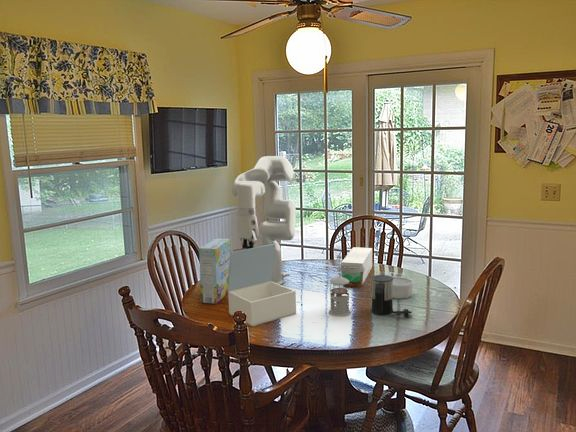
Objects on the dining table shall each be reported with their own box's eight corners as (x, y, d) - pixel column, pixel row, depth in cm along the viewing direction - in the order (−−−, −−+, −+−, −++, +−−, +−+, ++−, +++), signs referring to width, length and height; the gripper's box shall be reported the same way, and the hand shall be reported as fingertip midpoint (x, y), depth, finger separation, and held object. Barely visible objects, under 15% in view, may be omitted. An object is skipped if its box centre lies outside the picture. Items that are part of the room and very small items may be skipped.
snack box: (218, 304, 229) (215, 248, 224) (200, 303, 230) (196, 248, 226) (233, 289, 249) (230, 237, 245) (216, 288, 251) (213, 237, 247)
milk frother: (369, 307, 220) (369, 274, 217) (406, 307, 219) (407, 274, 217) (373, 320, 206) (374, 284, 203) (413, 319, 205) (414, 284, 203)
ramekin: (418, 294, 235) (418, 280, 234) (403, 302, 225) (403, 287, 224) (393, 288, 244) (393, 274, 242) (378, 296, 234) (378, 281, 233)
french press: (335, 318, 209) (334, 259, 204) (322, 309, 219) (321, 252, 215) (355, 314, 212) (355, 256, 208) (342, 305, 223) (341, 250, 218)
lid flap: (271, 280, 228) (264, 275, 231) (275, 244, 221) (268, 239, 225) (228, 291, 215) (222, 285, 218) (231, 252, 208) (224, 247, 212)
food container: (337, 287, 248) (336, 267, 246) (340, 283, 253) (340, 264, 251) (361, 290, 243) (361, 269, 241) (365, 286, 249) (365, 266, 247)
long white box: (362, 284, 252) (362, 263, 250) (341, 283, 255) (341, 262, 253) (372, 267, 282) (372, 248, 280) (353, 265, 285) (353, 247, 283)
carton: (271, 302, 229) (271, 281, 227) (296, 313, 215) (295, 290, 213) (229, 314, 216) (228, 291, 215) (252, 326, 202) (251, 302, 200)
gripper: (264, 213, 212) (266, 256, 215) (243, 209, 224) (245, 250, 227) (249, 215, 207) (251, 259, 210) (229, 211, 220) (230, 252, 223)
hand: (248, 254), depth 219 cm, fingers closed on lid flap, 2 cm apart
